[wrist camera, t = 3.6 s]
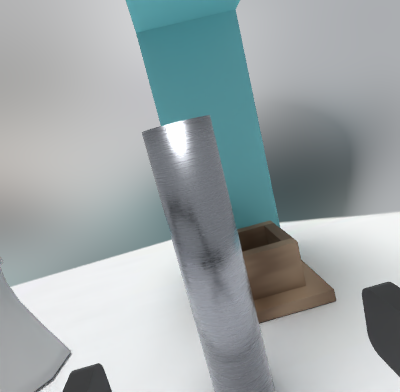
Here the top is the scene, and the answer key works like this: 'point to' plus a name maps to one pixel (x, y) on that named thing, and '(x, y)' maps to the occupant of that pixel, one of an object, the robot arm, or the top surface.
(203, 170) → the peg
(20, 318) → the flask
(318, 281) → the socket
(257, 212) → the teal angle bracket
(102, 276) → the top surface
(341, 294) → the top surface
